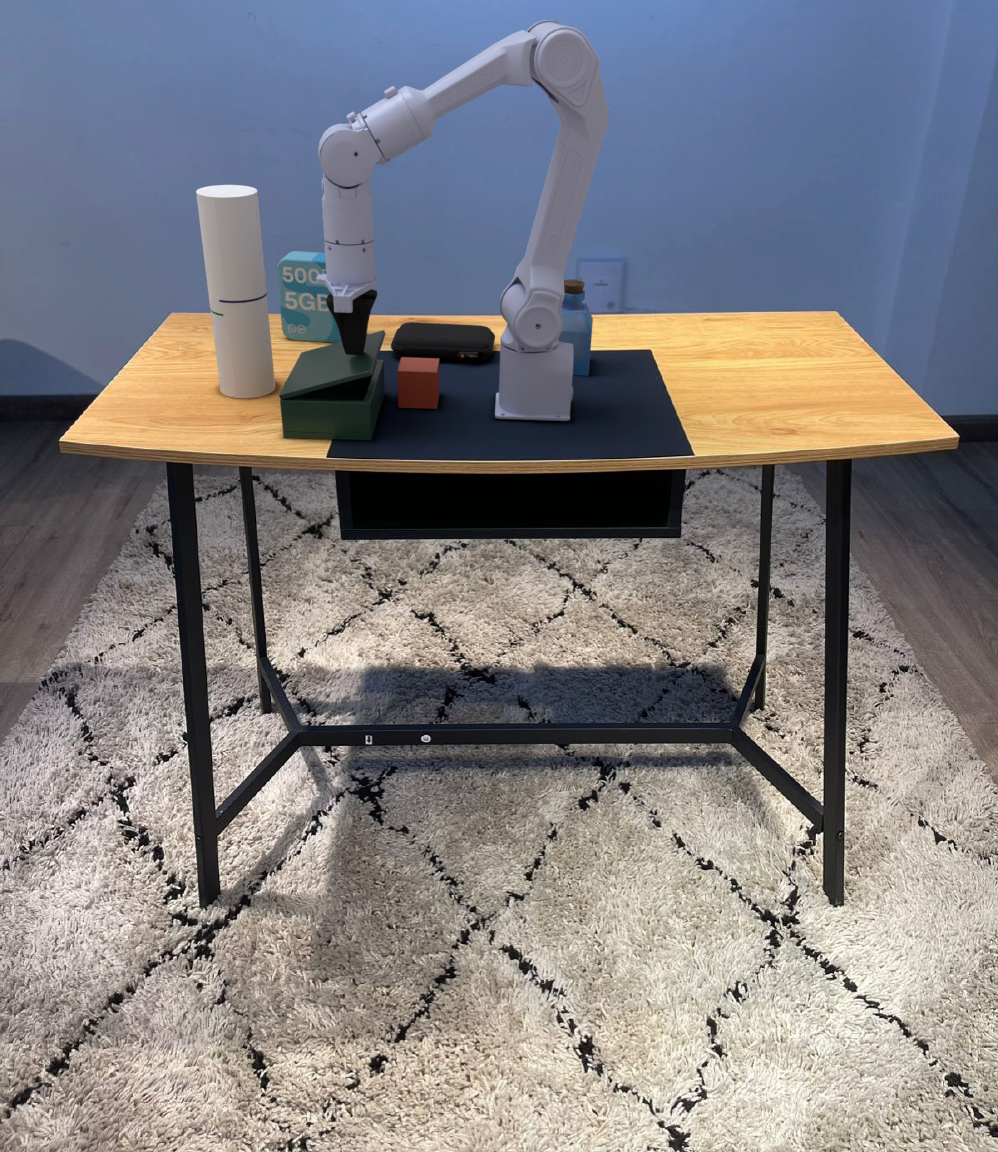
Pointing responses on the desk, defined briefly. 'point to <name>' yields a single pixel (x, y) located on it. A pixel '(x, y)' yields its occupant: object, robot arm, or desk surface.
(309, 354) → the bin lid
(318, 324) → the data package
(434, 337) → the carrying case
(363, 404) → the bin
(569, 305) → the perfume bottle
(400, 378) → the block
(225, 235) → the cylindrical container
